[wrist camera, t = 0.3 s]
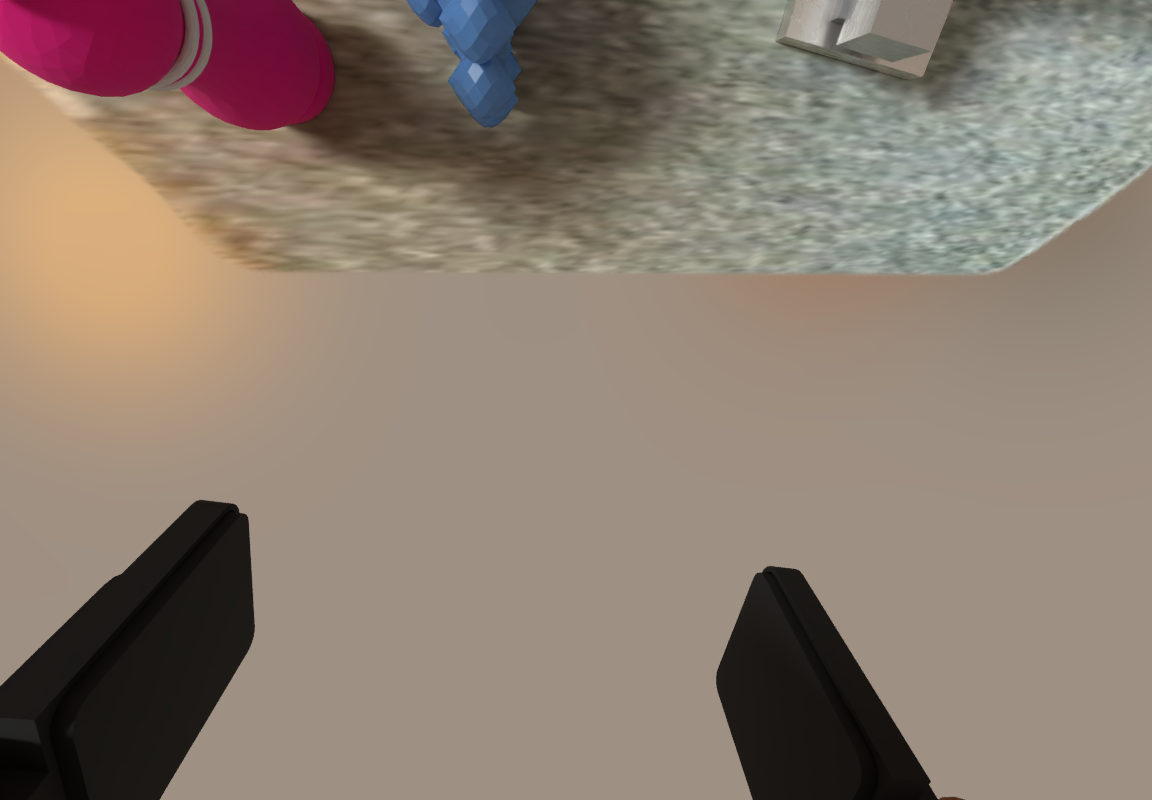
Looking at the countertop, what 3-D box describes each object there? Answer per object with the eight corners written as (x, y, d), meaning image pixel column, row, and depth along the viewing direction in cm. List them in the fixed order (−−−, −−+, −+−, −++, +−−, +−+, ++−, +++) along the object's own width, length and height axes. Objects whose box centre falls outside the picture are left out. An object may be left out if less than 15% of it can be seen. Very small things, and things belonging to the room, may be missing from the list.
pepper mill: (242, -39, 31) (-202, -329, 12) (364, 45, 33) (135, -99, 14) (198, 85, 33) (-232, -4, 15) (315, 157, 35) (63, 158, 17)
